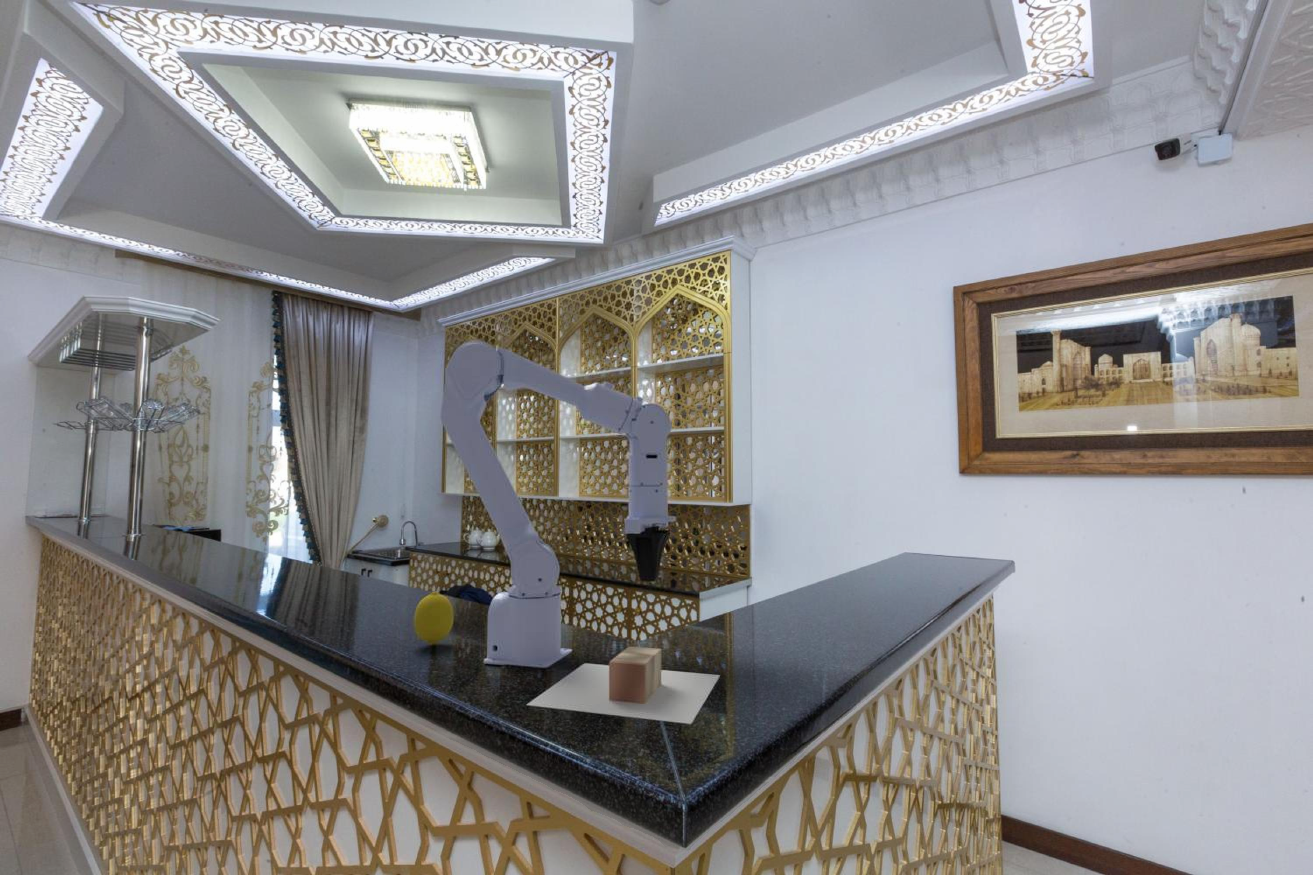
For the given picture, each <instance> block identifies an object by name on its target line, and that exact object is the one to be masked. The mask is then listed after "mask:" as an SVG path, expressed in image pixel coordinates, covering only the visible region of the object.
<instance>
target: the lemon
mask: <svg viewBox="0 0 1313 875" xmlns="http://www.w3.org/2000/svg"><path fill="white" fill-rule="evenodd" d="M453 624H454V609H453V605H452V603H451V601H450V599H449V598H447V597H446V596H444V595H442V594H440V593H439V592H437V591H432V592H431V593H430V594H428V595H426V596H425V597H424V598H422V599H421V600H420V601H419V603H418V604H417V606H416V608H415V612H414V618H413V628H414V632H415V634H416V636H417V637H418V638H419V639H420V640H422V641H423V642H426V643H427V644H428V645H430V644H436V643H437V644H438V643H439V642H441V641H442V640H444V639H445V638H447V636H448V635H449V634H450V632H451V630H452V628H453ZM437 644H436V645H437Z"/></svg>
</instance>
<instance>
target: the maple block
mask: <svg viewBox="0 0 1313 875" xmlns="http://www.w3.org/2000/svg"><path fill="white" fill-rule="evenodd" d="M608 665H609V700H612V701H621V702H631V703H640V704H645V702H646V701H647V700H648V699H649V698H650V697H651V696H652V694H653V693H654V692H655V691H656V690H657V689H658V688H659V686H660V685H661V670H662V648H656V647H655V648H652V647H641V646H640V647H639V646H628V647H627V648H625V649H624V650H623V651H621V652H620V653H618V654H617V655H616V656H615V657H614V658H612V659H611V660H610V661H608Z"/></svg>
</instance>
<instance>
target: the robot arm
mask: <svg viewBox="0 0 1313 875" xmlns="http://www.w3.org/2000/svg"><path fill="white" fill-rule="evenodd" d="M496 349H497V350H496ZM444 380H445V381H444V389H443V396H442V404H441V410H440V411H441V412H440V420H441V423H442V425H443V428H444V429H445V432H446V434H447V435H448V437H449V439H450V441H451V444H452V445H453V447H454V448H455V451H456V453H457V455H458V457H459V459H460V461H461V462H462V465H463V466H464V468H465V471H466V473H467V475H468V476H469V478H470V480H471V482H472V484H473V486H474V488H475V490H476V493H477V494H478V496H479V497H480V500H481V502H482V503H483V505H484V507H485V509H486V511H487V513H488V515H489V517H490V519H491V521H492V524H493V525H494V527H495V529H496V531H497V533H498V535H499V537H500V539H501V542H502V544H503V548H504V550H505V552H506V554H507V556H508V559H509V561H510V577H511V581H512V582H513V584H512V585H511V586H510V587H509V588H508V589H507V591H503V592H502V591H501V592H499V593H497V594H496V595H494V596H493V598H492V599H491V602H490V605H489V608H488V612H487V637H486V638H487V640H486V641H487V642H486V646H487V647H486V649H487V650H486V651H487V652H486V658H483V664H488V665H500V666H504V665H511V666H520V667H531V668H541V669H542V668H543V669H544V668H545V669H546V668H549V667H551V666H552V665H554V664H555V663H557V662H558V661H560V660H561V659H564V658H565V657H566V656H568V655H569V654H571V653H572V652H573V649H571V648H561V646H562V645H561V644H562V643H561V642H562V641H561V640H562V639H561V636H562V635H561V634H562V631H561V630H562V629H561V628H562V625H561V622H562V588H561V586H558V585H556V584H557V582H558V579H559V577H560V570H561V569H560V567H561V566H560V563H559V560H558V558H557V555H556V553H555V551H554V549H553V548H552V547H551V546H550V545H549V544H547V543H545V542H544V541H543V540H542V539H541V538H540V536H539V534H538V533H537V531H536V529H535V527H534V525H533V523H532V522H531V519H530V517H529V515H528V514H527V512H526V510H525V508H524V506H523V504H522V502H521V499H519V496H518V495H517V492H516V490H515V488H514V486H513V485H512V482H511V481H510V478H509V477H508V474H507V473H506V471H505V469H504V467H503V465H502V463H501V461H500V459H499V457H498V455H497V454H496V451H495V449H494V448H493V445H492V443H491V442H490V439H489V437H488V436H487V434H486V432H485V430H484V428H483V425H482V424H481V419H482V416H483V415H484V412H485V410H486V407H487V404H488V402H489V401H490V400H491V399H492V398H493V397H494V395H496V394H497V392H499V390H500V388H501V387H502V385H503V387H504V391H505V392H510V391H514V390H519V389H524V388H525V389H529V390H532V391H533V392H535V393H539V394H543V395H545V396H546V397H547V396H548V397H550V398H553V399H555V400H557V401H560V402H564V403H566V404H569V405H572V406H573V407H575V408H576V409H577V410H578V413H579V416H580V417H581V419H583V420H585V421H588V422H590V423H592V424H595V425H597V426H599V427H601V428H604V429H606V430H609V431H611V432H614V433H616V434H619V435H623V434H625V436H626V438H627V439H628V441H629V454H628V516H627V517H626V518H624V534H625V537H626V540H627V541H628V543H629V545H630V548H631V550H632V552H633V555H634V559H635V562H636V567H637V571H638V576H639V580H640V581H641V582H651V583H653V582H655V581H657V580H658V576H659V572H660V566H661V563H662V556H663V552H664V550H665V547H666V544H667V542H668V540H669V538H670V535H671V530H670V529H660V528H667V527H669V522H676V520H677V519H676V518H677V517H676V516H673V515H672V516H669V513H668V511H669V510H668V509H669V508H668V502H669V500H668V498H669V497H668V495H669V493H668V454H667V438H668V436H669V435H670V433H671V431H672V427H673V422H672V421H670V420H671V419H670V416H669V414H668V412H666V409H665V408H663V407H662V406H660V405H659V404H657V403H644V404H643V400H644V399H643V398H642V397H640V396H639V395H636V397H632V396H630V395H629V394H628V395H627V394H626V393H623V392H621V391H620V390H619V391H618V390H616V389H614V388H613V387H614V384H613V383H611V382H608V381H605V382H604V383H600V382H597V381H596V382H593V383H591V384H588V385H583V384H581V383H579V382H576V381H575V380H572V379H570V378H568V377H566V376H564V375H562V374H560V373H557V372H555V371H554V370H551V369H549V368H547V367H545V366H543V365H541V364H538V363H536V362H535V361H533V360H530V359H528V358H526V357H524V356H522V355H519V354H518V353H516V352H513V351H511V350H508V349H506V348H503V347H499V346H497V347H496V348H495V347H493V346H492V345H491V344H489V343H488V342H486V341H482V340H469V341H466V342H464V343H463V344H461V345H459V347H457V348H456V350H455V351H454V353H453V354H452V356H451V358H450V359H449V362H448V363H447V364H446V367H445V372H444Z"/></svg>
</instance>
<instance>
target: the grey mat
mask: <svg viewBox="0 0 1313 875" xmlns="http://www.w3.org/2000/svg"><path fill="white" fill-rule="evenodd" d="M720 676H721V674H720V675H719V674H710V673H697V672H687V671H676V670H665V669H661V685H660V686H659V688H658V689H657V690H656V691H655V692H654V693H653V694H652V696H651V697H650V698H649V699H648V700H647V701H646V702H645V704H640V703H631V702H621V701H612V700H609V664H598V663H597V664H596V663H586V662H585V663H583V664H581V665H580V666H579V667H577V668H576V669H574V670H573V671H572V672H570V673H569V674H568V675H566V676H565V677H563V678H561V679H560V681H558V682H556V683H555V684H553V685H552V686H551V687H549V688H548V689H546V690H545V691H544V692H542V693H541V694H539V695H538V696H536V697H535V698H533V699H532V700H531V701H530V702H528V703H527V704H526V706H530V707H540V708H548V709H556V710H564V711H573V712H582V713H592V714H599V715H608V716H618V717H626V718H634V719H643V720H653V721H660V722H669V723H670V722H671V723H679V724H685V725H692V724H693V722H694V720H695V719H696V717H697V716H698V714H699V713H700V710H701V709H702V707H703V705H704V704H705V702H706V700H707V699H708V697H709V695H710V694H711V692H712V690H713V688H714V687H715V685H717V682H718V680H719V678H720Z"/></svg>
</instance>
